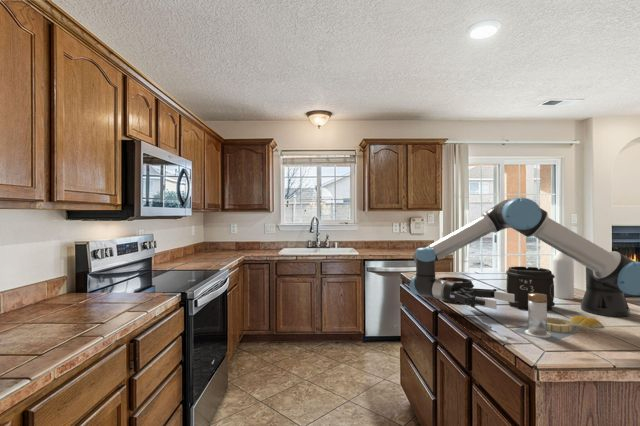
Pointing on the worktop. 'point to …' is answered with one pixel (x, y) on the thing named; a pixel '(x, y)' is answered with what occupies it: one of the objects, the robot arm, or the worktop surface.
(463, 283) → the casserole
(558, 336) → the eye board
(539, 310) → the jar with brown lid
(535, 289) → the labelled black crock
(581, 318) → the bread roll
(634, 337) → the worktop surface
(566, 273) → the bottle
